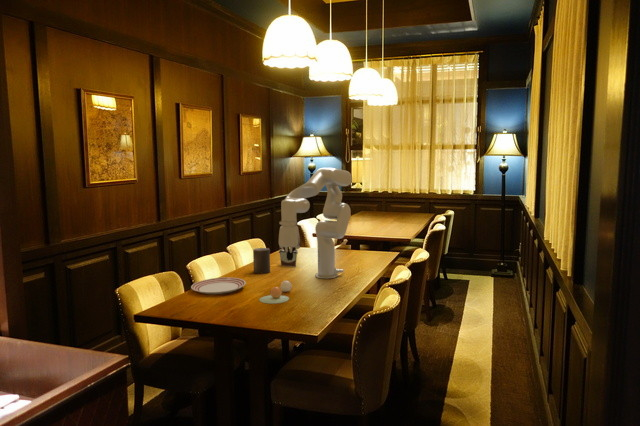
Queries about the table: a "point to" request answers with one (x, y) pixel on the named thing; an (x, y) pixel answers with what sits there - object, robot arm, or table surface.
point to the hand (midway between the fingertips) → (289, 259)
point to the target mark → (273, 299)
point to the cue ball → (286, 286)
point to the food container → (284, 258)
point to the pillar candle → (261, 260)
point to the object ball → (276, 292)
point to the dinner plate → (218, 285)
